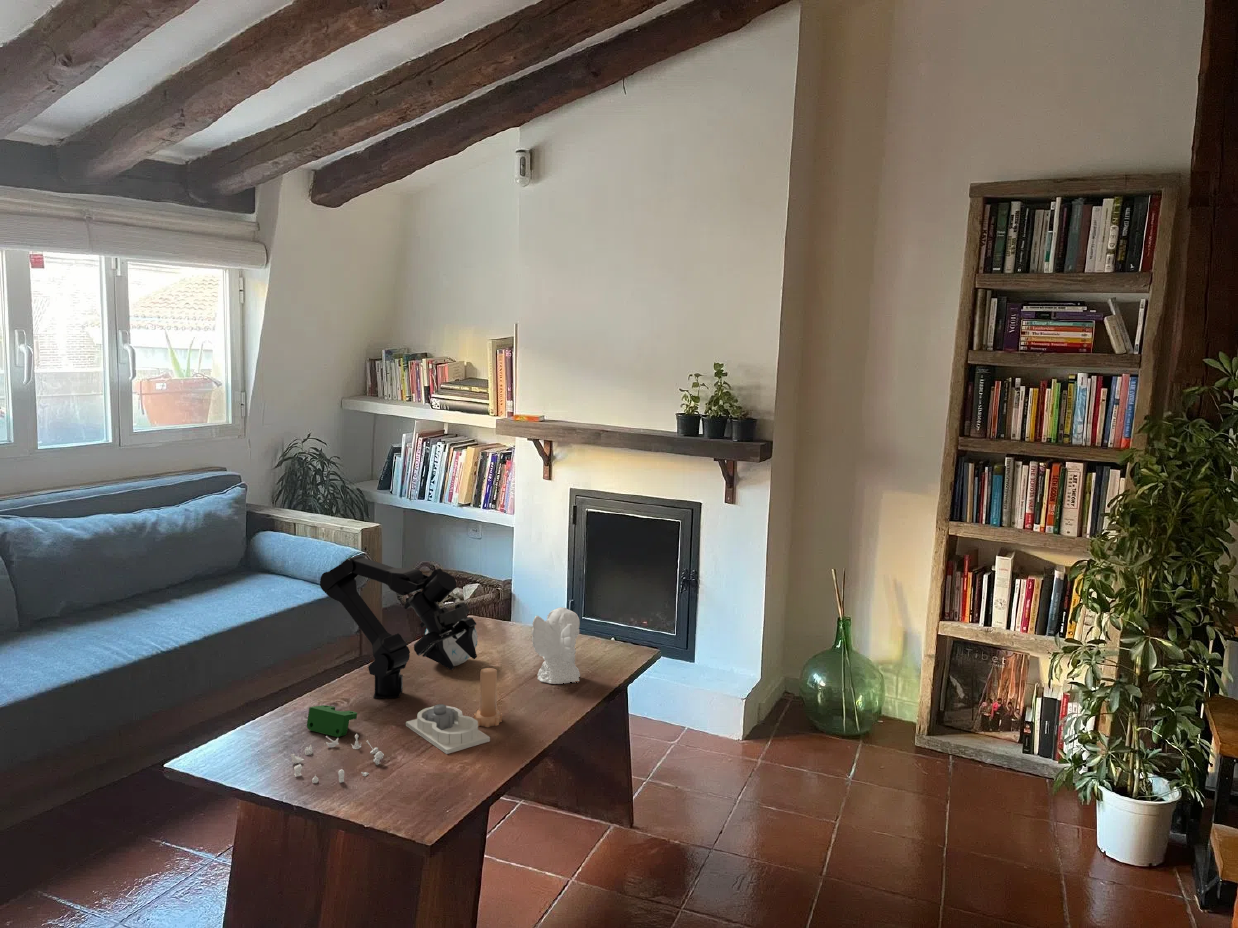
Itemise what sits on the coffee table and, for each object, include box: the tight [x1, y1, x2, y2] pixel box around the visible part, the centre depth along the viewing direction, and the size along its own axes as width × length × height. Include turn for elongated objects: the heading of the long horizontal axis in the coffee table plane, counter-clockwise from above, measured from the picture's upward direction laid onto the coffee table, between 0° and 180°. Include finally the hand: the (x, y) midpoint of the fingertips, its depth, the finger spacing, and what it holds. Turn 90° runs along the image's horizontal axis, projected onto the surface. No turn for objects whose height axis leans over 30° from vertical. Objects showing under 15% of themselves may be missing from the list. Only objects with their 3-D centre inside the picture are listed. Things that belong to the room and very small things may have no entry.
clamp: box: [306, 704, 358, 738], centre depth 224 cm, size 11×6×8 cm, turn 61°
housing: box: [405, 703, 491, 755], centre depth 224 cm, size 19×12×6 cm, turn 41°
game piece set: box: [289, 733, 385, 784], centre depth 207 cm, size 19×20×4 cm
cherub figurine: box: [531, 606, 581, 685], centre depth 260 cm, size 13×12×20 cm
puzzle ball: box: [424, 619, 478, 667], centre depth 269 cm, size 15×15×15 cm
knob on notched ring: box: [473, 667, 503, 728], centre depth 231 cm, size 7×7×13 cm
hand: (464, 663), depth 233 cm, fingers open, 9 cm apart
